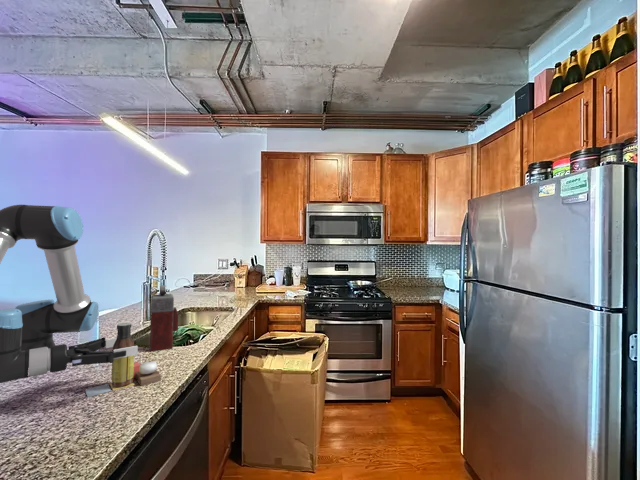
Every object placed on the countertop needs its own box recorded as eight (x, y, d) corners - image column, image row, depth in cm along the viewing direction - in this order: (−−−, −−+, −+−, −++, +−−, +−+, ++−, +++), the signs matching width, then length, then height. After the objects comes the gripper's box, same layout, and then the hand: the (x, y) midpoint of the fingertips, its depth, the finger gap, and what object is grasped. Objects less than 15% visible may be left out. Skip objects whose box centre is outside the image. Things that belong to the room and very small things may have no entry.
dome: (137, 370, 107) (137, 364, 107) (154, 366, 111) (154, 360, 111) (141, 375, 103) (141, 368, 103) (158, 371, 107) (158, 364, 107)
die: (124, 376, 109) (125, 365, 109) (136, 372, 112) (136, 361, 113) (130, 379, 107) (130, 367, 107) (142, 375, 110) (142, 364, 110)
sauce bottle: (129, 378, 107) (133, 320, 108) (136, 383, 103) (140, 323, 104) (107, 383, 102) (111, 323, 103) (113, 389, 98) (118, 326, 99)
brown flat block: (135, 378, 108) (135, 372, 108) (154, 373, 112) (154, 367, 112) (141, 386, 102) (141, 379, 102) (160, 380, 106) (160, 375, 106)
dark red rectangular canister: (178, 347, 140) (179, 285, 140) (149, 351, 134) (151, 287, 135) (176, 342, 148) (178, 283, 148) (149, 345, 142) (151, 284, 143)
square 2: (109, 384, 103) (109, 383, 103) (130, 379, 107) (130, 378, 107) (112, 390, 98) (112, 390, 98) (134, 385, 102) (134, 384, 102)
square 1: (85, 390, 98) (85, 389, 98) (107, 384, 102) (107, 384, 102) (87, 397, 94) (87, 396, 94) (111, 391, 98) (111, 390, 98)
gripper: (47, 360, 99) (124, 346, 114) (50, 387, 81) (141, 367, 96) (48, 337, 100) (124, 326, 114) (51, 358, 81) (142, 342, 96)
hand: (132, 344), depth 105 cm, fingers open, 13 cm apart
